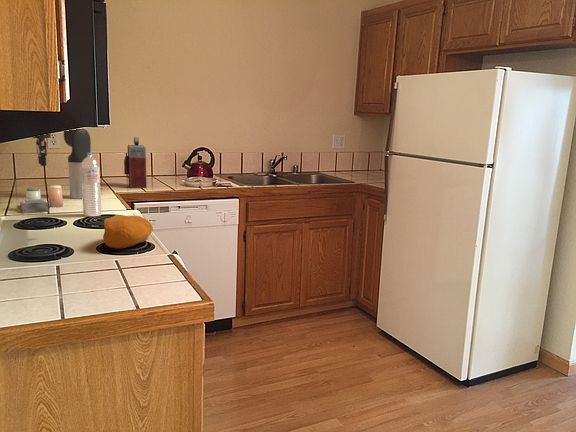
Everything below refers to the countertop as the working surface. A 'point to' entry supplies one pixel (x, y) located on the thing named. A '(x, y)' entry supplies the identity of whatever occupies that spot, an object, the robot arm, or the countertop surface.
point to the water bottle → (91, 186)
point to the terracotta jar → (55, 196)
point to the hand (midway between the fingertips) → (42, 164)
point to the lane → (34, 207)
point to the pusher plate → (34, 200)
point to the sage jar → (33, 193)
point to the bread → (126, 231)
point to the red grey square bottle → (136, 165)
